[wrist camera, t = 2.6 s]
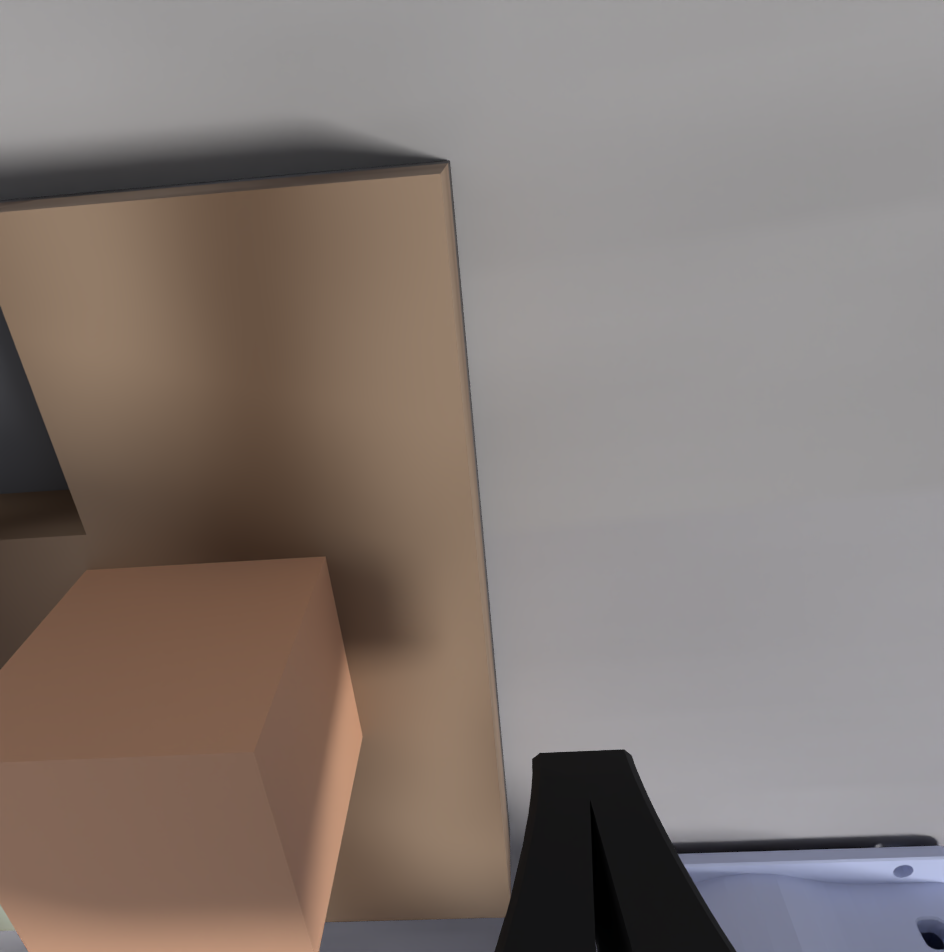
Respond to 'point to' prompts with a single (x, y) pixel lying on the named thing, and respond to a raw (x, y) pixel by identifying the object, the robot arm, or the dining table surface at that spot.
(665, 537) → the dining table surface
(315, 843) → the terracotta cube
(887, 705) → the dining table surface
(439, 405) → the board
